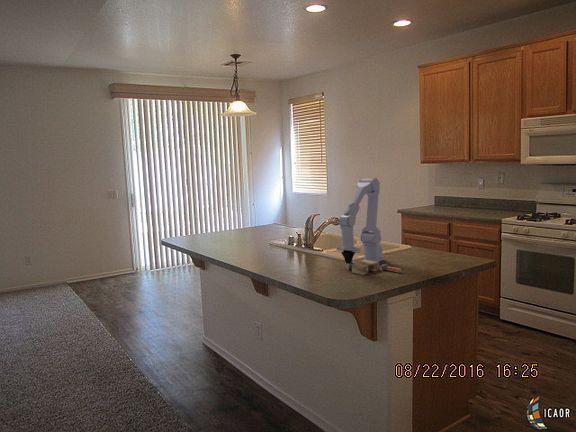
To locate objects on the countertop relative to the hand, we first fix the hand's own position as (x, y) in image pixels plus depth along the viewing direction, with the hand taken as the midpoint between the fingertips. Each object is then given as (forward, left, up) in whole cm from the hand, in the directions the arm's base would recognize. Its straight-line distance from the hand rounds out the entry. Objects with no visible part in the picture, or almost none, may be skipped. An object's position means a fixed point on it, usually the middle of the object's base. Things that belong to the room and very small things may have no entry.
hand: (348, 265), depth 241 cm
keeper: (-7, +21, -1) cm, 22 cm away
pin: (0, +5, -1) cm, 5 cm away
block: (0, +11, -1) cm, 11 cm away
